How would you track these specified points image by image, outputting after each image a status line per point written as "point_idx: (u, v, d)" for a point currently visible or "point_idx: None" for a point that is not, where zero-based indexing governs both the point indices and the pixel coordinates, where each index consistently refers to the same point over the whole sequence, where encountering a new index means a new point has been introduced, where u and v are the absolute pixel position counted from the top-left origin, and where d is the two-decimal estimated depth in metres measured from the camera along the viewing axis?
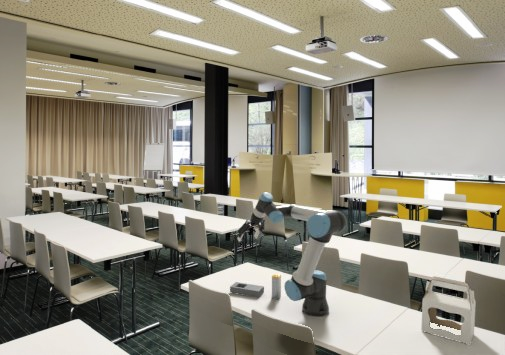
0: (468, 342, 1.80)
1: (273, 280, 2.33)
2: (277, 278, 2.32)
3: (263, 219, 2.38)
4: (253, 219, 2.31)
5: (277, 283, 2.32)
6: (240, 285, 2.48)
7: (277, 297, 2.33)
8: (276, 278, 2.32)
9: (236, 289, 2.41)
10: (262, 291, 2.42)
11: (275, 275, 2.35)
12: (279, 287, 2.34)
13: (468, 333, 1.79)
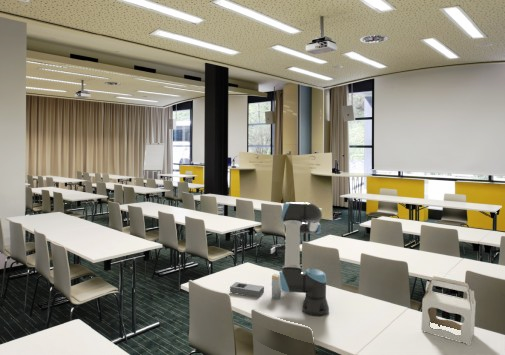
0: (468, 342, 1.80)
1: (273, 280, 2.33)
2: (277, 278, 2.32)
3: None
4: None
5: (277, 283, 2.32)
6: (240, 285, 2.48)
7: (277, 297, 2.33)
8: (276, 278, 2.32)
9: (236, 289, 2.41)
10: (262, 291, 2.42)
11: (275, 275, 2.35)
12: (279, 287, 2.34)
13: (468, 333, 1.79)
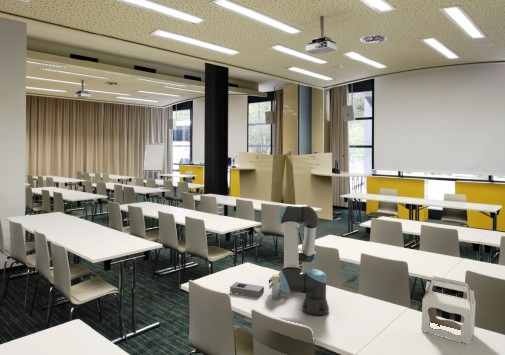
0: (468, 342, 1.80)
1: (273, 280, 2.33)
2: (277, 278, 2.32)
3: None
4: None
5: (277, 283, 2.32)
6: (240, 285, 2.48)
7: (277, 297, 2.33)
8: (276, 278, 2.32)
9: (236, 289, 2.41)
10: (262, 291, 2.42)
11: (275, 275, 2.35)
12: None
13: (468, 333, 1.79)
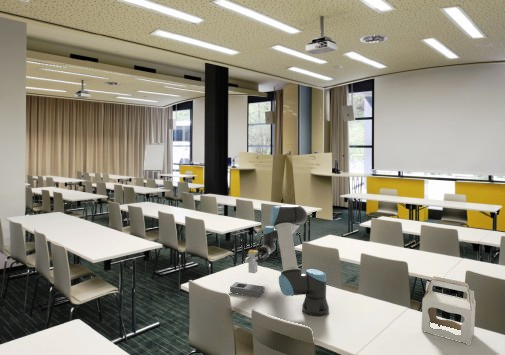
0: (468, 342, 1.80)
1: (250, 255, 2.41)
2: (253, 253, 2.39)
3: None
4: None
5: (253, 258, 2.40)
6: (240, 285, 2.48)
7: (253, 271, 2.41)
8: (252, 253, 2.40)
9: (236, 289, 2.41)
10: (262, 291, 2.42)
11: (252, 250, 2.42)
12: None
13: (468, 333, 1.79)
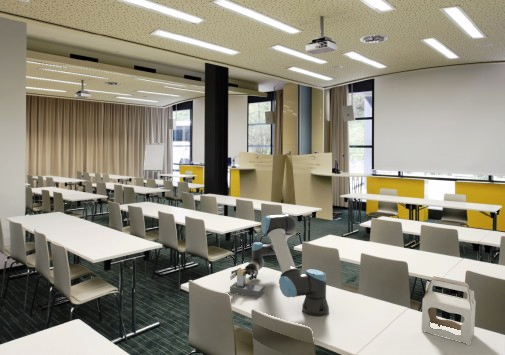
0: (468, 342, 1.80)
1: (238, 275, 2.43)
2: (242, 273, 2.41)
3: None
4: (245, 267, 2.59)
5: (242, 278, 2.42)
6: None
7: None
8: (241, 273, 2.42)
9: (236, 289, 2.41)
10: (262, 291, 2.42)
11: (240, 270, 2.44)
12: (244, 282, 2.43)
13: (468, 333, 1.79)
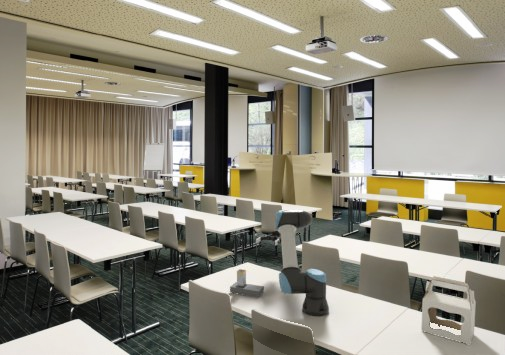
0: (468, 342, 1.80)
1: (238, 275, 2.43)
2: (242, 273, 2.41)
3: None
4: None
5: (242, 278, 2.42)
6: None
7: None
8: (241, 273, 2.42)
9: (236, 289, 2.41)
10: (262, 291, 2.42)
11: (240, 270, 2.44)
12: (244, 282, 2.43)
13: (468, 333, 1.79)
